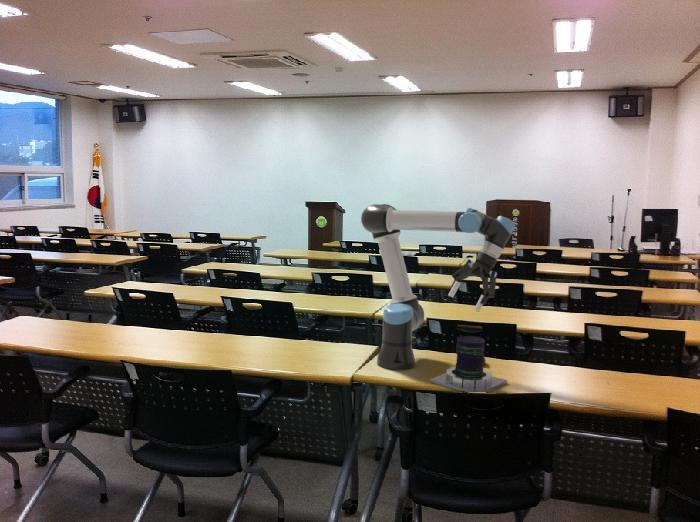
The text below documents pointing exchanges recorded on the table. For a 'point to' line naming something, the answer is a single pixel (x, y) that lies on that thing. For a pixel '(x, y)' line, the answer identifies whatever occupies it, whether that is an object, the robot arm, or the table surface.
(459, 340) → the storage jar
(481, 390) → the hub plate
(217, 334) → the table surface
